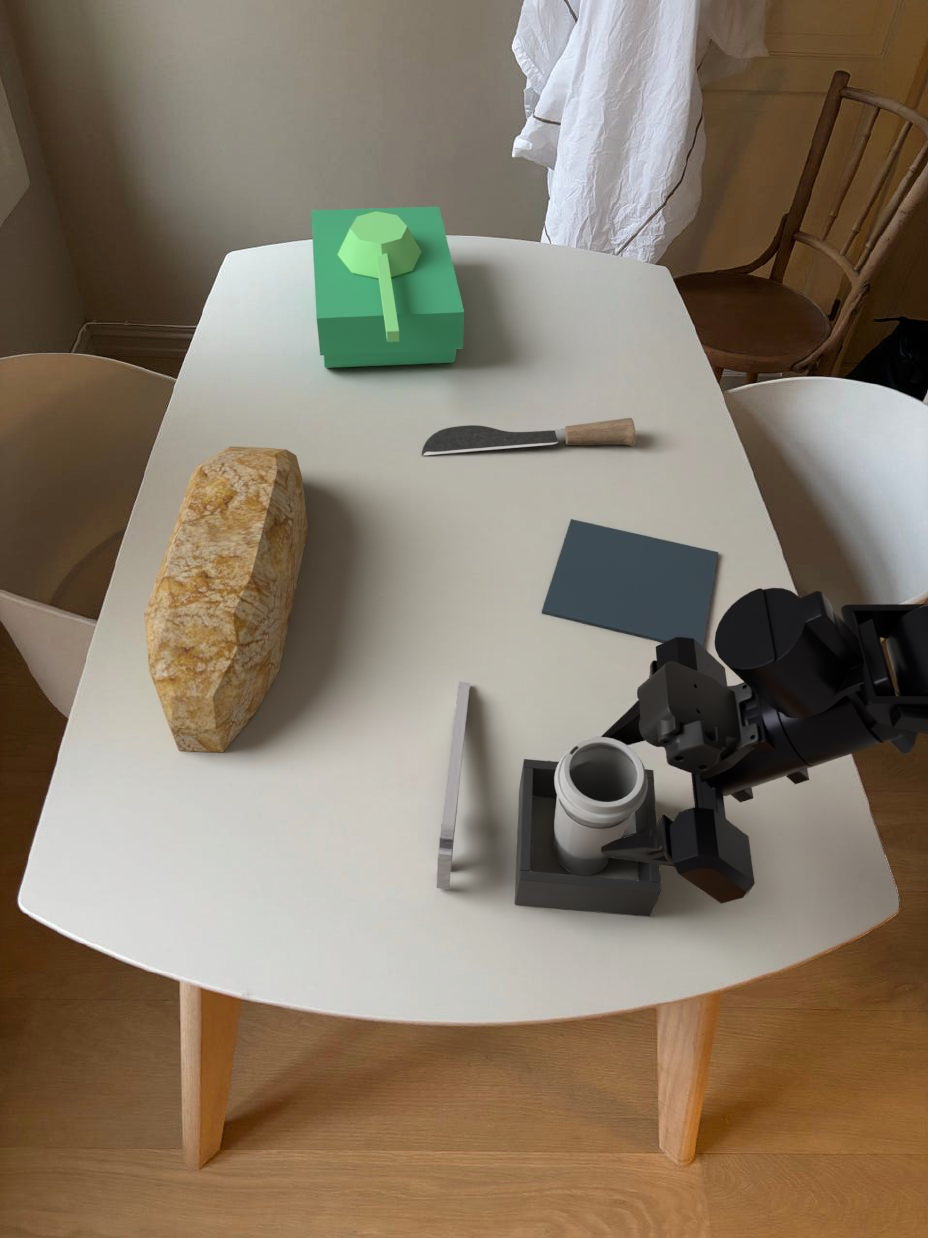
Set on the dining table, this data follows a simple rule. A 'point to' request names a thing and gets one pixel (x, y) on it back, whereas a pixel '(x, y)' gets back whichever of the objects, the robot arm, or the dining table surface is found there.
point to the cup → (595, 801)
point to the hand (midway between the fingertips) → (602, 796)
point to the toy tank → (385, 287)
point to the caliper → (452, 789)
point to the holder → (576, 888)
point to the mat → (632, 583)
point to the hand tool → (528, 437)
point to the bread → (226, 593)
